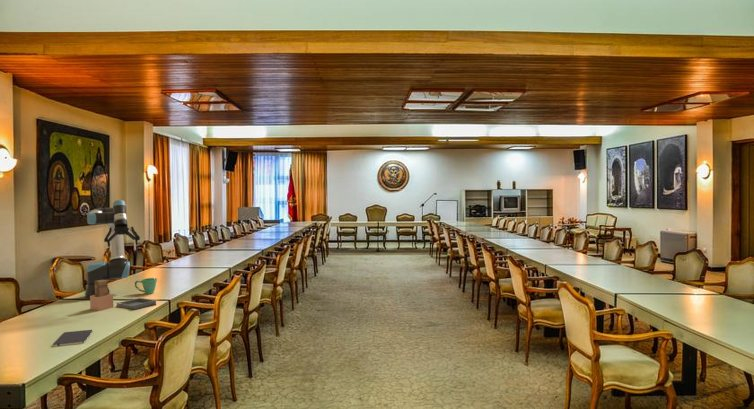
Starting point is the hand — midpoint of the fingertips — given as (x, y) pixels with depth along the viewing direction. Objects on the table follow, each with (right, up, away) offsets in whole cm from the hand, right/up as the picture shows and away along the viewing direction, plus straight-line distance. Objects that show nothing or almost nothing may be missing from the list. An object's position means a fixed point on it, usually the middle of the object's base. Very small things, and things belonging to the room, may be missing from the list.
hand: (123, 250), depth 307 cm
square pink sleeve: (-10, -36, -6) cm, 38 cm away
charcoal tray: (+8, -36, +1) cm, 37 cm away
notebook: (+9, -39, -65) cm, 76 cm away
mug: (-5, -35, +40) cm, 53 cm away
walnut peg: (-10, -35, -6) cm, 37 cm away
